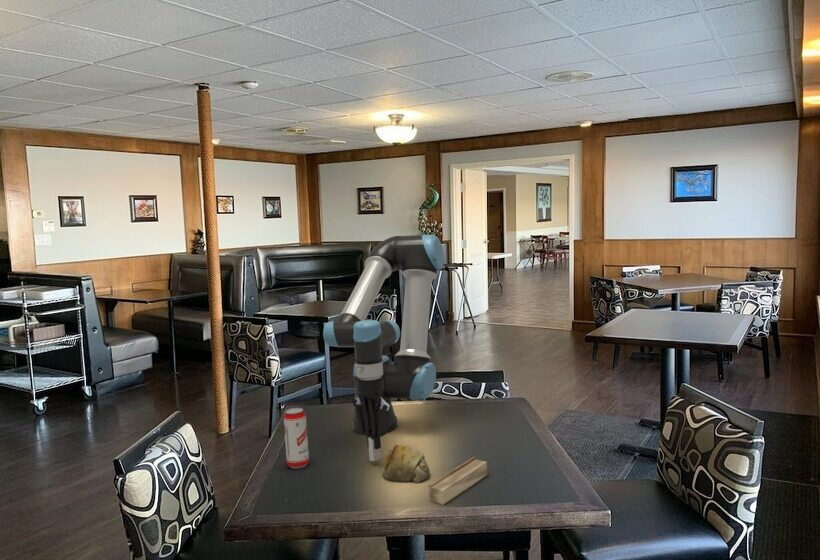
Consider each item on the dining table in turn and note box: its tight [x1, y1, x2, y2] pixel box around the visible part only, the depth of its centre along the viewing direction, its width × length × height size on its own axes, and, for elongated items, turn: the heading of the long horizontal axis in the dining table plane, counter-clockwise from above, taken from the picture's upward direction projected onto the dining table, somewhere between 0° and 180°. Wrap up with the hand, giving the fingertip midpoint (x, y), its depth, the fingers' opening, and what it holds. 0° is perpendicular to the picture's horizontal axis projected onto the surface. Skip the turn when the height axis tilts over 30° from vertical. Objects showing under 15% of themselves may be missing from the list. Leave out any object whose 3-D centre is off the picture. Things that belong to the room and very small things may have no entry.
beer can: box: [283, 407, 310, 470], centre depth 175 cm, size 6×6×16 cm
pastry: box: [381, 444, 430, 484], centre depth 165 cm, size 14×12×8 cm
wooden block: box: [428, 456, 488, 506], centre depth 156 cm, size 4×20×4 cm, turn 142°
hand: (374, 459), depth 173 cm, fingers closed
